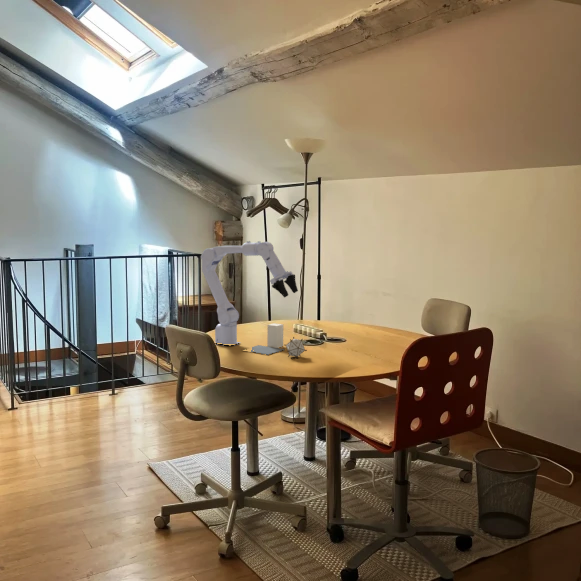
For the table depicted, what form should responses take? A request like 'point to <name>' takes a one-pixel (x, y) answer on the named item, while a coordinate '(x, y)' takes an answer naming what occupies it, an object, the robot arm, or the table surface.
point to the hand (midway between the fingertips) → (291, 294)
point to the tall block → (275, 335)
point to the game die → (295, 347)
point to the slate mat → (265, 349)
